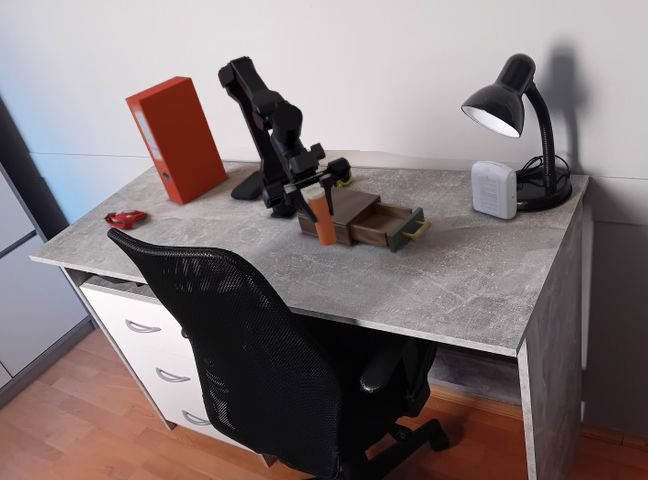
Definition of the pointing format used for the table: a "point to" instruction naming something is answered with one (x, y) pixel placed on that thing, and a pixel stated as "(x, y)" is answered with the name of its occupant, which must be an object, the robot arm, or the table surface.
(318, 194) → the tube
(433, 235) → the table surface
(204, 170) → the file binder
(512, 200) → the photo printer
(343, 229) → the organiser
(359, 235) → the drawer
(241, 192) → the carrying case
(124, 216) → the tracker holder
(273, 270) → the table surface
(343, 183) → the opera glasses
